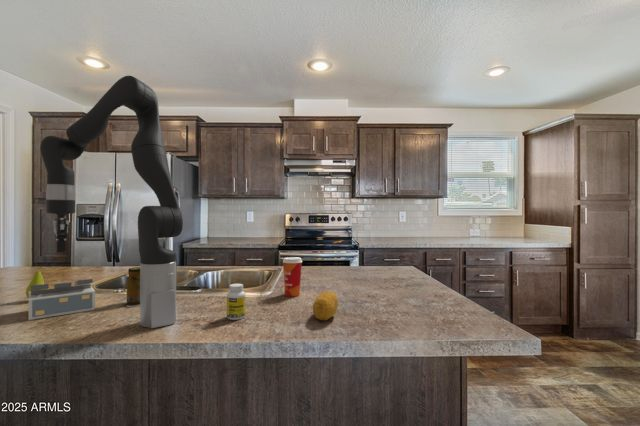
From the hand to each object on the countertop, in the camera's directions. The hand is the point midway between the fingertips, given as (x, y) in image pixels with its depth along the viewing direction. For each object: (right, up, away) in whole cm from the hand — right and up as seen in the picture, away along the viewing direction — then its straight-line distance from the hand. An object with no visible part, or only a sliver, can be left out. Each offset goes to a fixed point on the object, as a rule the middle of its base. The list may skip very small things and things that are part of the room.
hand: (61, 252), depth 108 cm
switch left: (-2, -11, -6) cm, 12 cm away
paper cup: (+74, -19, +19) cm, 79 cm away
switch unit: (+2, -18, -2) cm, 18 cm away
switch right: (+6, -11, +1) cm, 13 cm away
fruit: (-15, -18, +9) cm, 26 cm away
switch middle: (+2, -11, -2) cm, 11 cm away
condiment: (+21, -19, +6) cm, 29 cm away
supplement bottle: (+59, -19, -8) cm, 63 cm away
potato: (+86, -19, -7) cm, 89 cm away
